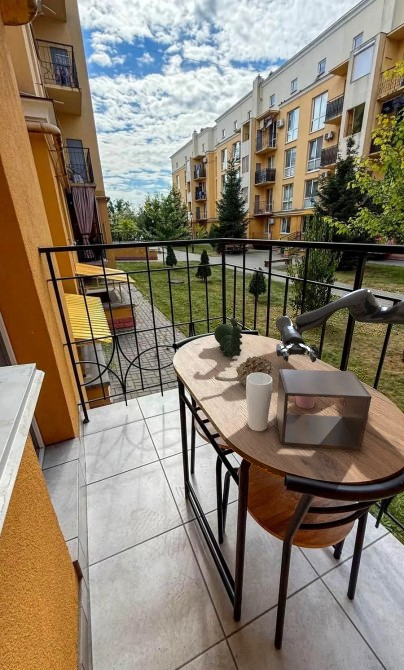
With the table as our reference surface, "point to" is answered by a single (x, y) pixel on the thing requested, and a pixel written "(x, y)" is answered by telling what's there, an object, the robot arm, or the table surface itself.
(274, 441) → the table surface
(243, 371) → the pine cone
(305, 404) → the pink canister
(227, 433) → the table surface
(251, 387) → the drinking glass
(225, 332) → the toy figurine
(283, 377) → the cubby cabinet
